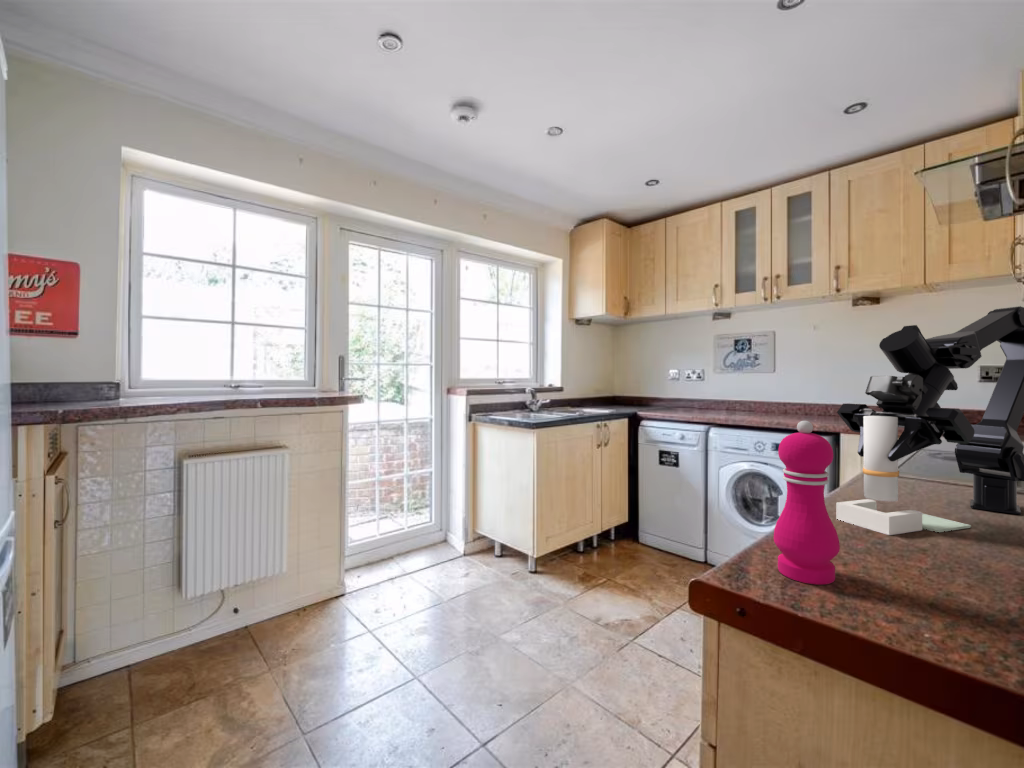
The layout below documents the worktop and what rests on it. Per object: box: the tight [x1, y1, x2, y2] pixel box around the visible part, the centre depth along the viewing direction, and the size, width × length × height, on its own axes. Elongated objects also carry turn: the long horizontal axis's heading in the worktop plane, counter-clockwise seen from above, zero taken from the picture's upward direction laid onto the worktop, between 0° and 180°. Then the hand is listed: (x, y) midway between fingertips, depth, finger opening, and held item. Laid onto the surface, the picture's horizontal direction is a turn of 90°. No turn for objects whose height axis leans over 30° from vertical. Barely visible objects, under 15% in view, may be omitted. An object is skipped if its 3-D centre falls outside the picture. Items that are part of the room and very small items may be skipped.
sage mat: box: [922, 512, 972, 533], centre depth 79 cm, size 8×8×1 cm
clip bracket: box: [835, 498, 923, 536], centre depth 79 cm, size 8×9×3 cm
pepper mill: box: [773, 420, 841, 586], centre depth 59 cm, size 7×7×20 cm
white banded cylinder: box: [862, 416, 900, 502], centre depth 79 cm, size 5×5×14 cm
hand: (874, 457), depth 78 cm, fingers closed on white banded cylinder, 5 cm apart
